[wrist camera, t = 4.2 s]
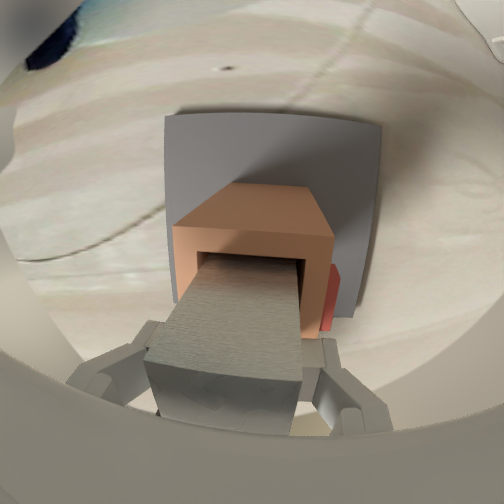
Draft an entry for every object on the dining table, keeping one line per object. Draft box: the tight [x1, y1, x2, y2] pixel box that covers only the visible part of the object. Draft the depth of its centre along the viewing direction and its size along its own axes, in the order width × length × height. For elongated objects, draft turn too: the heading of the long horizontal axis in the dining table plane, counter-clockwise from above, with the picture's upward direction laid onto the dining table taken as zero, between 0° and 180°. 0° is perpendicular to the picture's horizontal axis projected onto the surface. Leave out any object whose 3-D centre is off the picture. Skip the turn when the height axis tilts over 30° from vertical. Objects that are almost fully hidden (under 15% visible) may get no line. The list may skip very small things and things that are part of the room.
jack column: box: [143, 252, 302, 436], centre depth 16 cm, size 4×4×20 cm
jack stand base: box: [164, 113, 382, 339], centre depth 20 cm, size 20×20×16 cm
